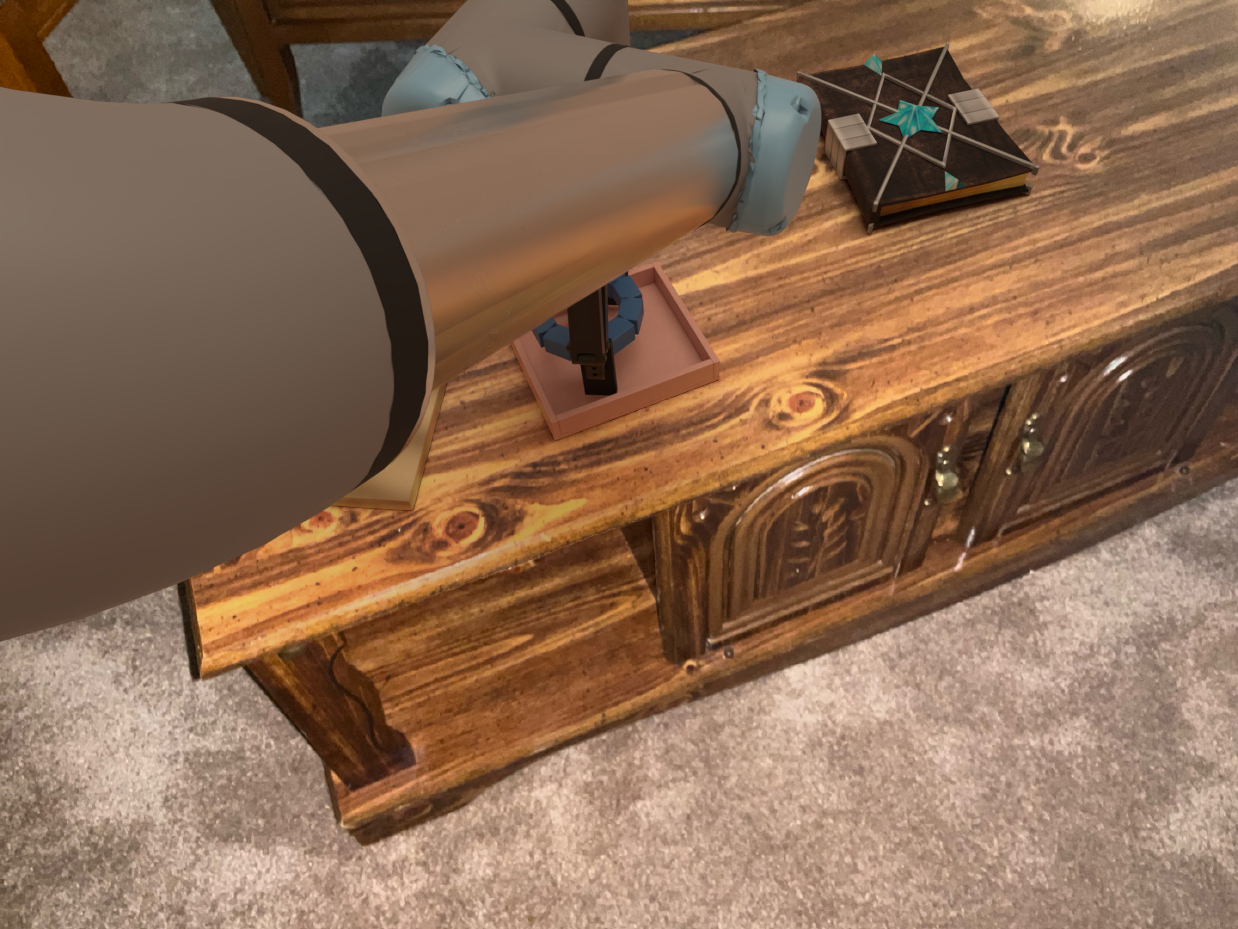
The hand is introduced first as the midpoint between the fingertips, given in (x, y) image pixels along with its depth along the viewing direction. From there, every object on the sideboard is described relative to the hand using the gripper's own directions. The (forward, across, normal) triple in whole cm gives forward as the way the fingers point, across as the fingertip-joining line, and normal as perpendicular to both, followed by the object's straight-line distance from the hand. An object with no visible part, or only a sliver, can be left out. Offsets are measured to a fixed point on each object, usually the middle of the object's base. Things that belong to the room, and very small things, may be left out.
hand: (608, 345), depth 84 cm
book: (+2, +29, -27) cm, 40 cm away
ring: (-3, 0, +2) cm, 4 cm away
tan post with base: (+1, -10, +21) cm, 23 cm away
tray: (+1, 0, 0) cm, 1 cm away
